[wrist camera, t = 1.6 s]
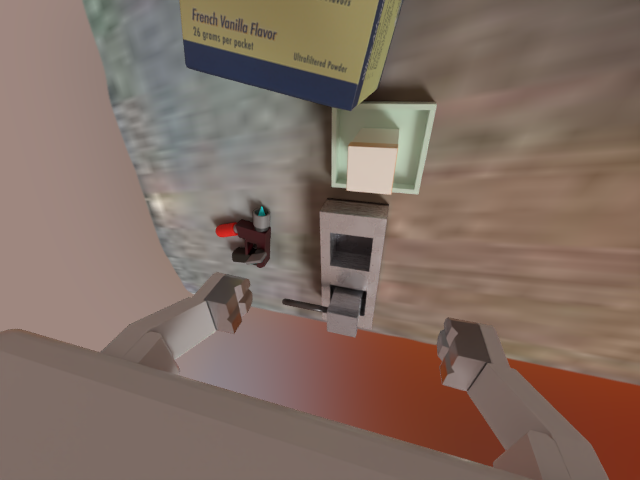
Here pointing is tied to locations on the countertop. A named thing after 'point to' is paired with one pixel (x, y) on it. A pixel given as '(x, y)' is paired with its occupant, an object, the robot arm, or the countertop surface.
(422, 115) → the tray
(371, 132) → the plug
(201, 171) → the countertop surface
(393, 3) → the protein box
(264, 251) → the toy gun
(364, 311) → the grey box with openings
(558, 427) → the robot arm
